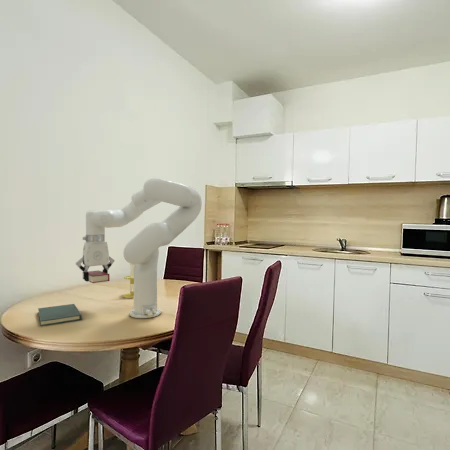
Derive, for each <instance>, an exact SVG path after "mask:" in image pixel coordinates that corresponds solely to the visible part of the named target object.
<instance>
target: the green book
mask: <svg viewBox="0 0 450 450" xmlns="http://www.w3.org/2000/svg"><path fill="white" fill-rule="evenodd" d="M37 310H38V312H37V314H38V318H39V323H40V327H43V326H44V327H45V326H50V325H52V326H53V325H57V324H63V323H70V322H77V321H82V313H81V312H80V310H79V309H78V307H77V306H76V304H75V303H70V304H62V305H61V304H60V305H54V306H53V305H52V306H45V307H38V308H37Z"/></svg>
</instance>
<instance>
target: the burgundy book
mask: <svg viewBox="0 0 450 450" xmlns="http://www.w3.org/2000/svg"><path fill="white" fill-rule="evenodd" d="M88 272H89V281H88V282H89V283H92V284H96V283H97V284H98V283H104V282H110V278H111V277H110V273H109V272H108V273H105V272H103V270H102V271H101V270H98V269H97V270H90V271H89V270H88ZM82 280H84V278H83V277H82Z"/></svg>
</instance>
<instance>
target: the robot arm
mask: <svg viewBox="0 0 450 450" xmlns="http://www.w3.org/2000/svg"><path fill="white" fill-rule="evenodd" d="M142 186H143V187H142V188H141V189H139V190H138V191H136V192H135V193H132V195H131V198H130V199H131V201H130V202H129V203H128V204H126V205H125V206H123V207H122V208H119V209H104V210H88V211H86V213H85V236H82V241H85V242H83V243H84V244H83V249H82V257H81V258H80V259H79V260H77V261H76V262H75V265H76V266H77V268H79V270H81V271H82V279H83V278H84V279H83V280H84V282H87V283H88V282H89V272H88V271H89V269H90V267H95V266H102V268H103V269H102V272H105V273H108V274H109V270H110V268H111V267H112V265H113V264H114V263H115V259H114V258H112V257H111V256H110V253H109V246H108V242H107V241H106V234H105V233H106V229H105V228H107V229H108V228H121V227H124V226H127V225H128V224H130V223H131V222H134V221H135V220H137V219H138V218H139V217H140V216H141V215H143V213H145V212H146V211H149V210H150V209H151V208H153V207H155V206H157V205H158V204H160V203H162V202H163V203H166V204H170V205H174V206H176V207H178V208H177V209H175V210H174V211H173V212H171V213H170V214H169V216H167V217H166V218H165V219H164V220H162V221H160V222H153V223H150V224H148V225H146V226H145V227H144V228H143V229H142V230H140V231H139V232H138V233H137V234H136V235H135V236H134V237H132V239H130V240H129V241H128V242H127V243H126V245H125V246H124V248H123V258H124V260H125V261H126V262H127V263H128V264H129V265H130V264H134V265H135V266H134V298H133V309H132V310H130V312H129V316H130V317H132V318H134V319H149V318H154V317H158V316H159V315H161V314H162V310H161V309H160V308H158V262H159V254H160V250H159V249H160V248H161V247H164V246H165V247H166V246H168V245H170V244H171V243H172V242H174V240H175V239H176V238H177V237H178V236H179V235H180V234H182V233H183V232H184V231H185V230H186V229H187V228H188V227H189V226H190V225H192V224H193V222H195V221H196V219H197V218H198V217H199V215H200V213H201V210H202V207H203V206H202V196H201V194H200V193H199V191H198V190H197V189H196V188H194V187H193V186H191V185H186V184H183V183H180V182H175V181H171V180H167V179H164V178H160V177H157V176H152V177H149V178H148V179H147V180H146V181H144V184H143V185H142ZM83 265H84V266H83Z"/></svg>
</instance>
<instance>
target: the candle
mask: <svg viewBox="0 0 450 450" xmlns="http://www.w3.org/2000/svg"><path fill="white" fill-rule="evenodd" d="M129 265H130V267H129V269H130V271H129V272H130V273H129V274H130V275H125V276H124V277H123V278H124V279H125V280H129V293H125V294H123V295H122V298H125V299H134V266H135V265H134V264H130V263H129Z"/></svg>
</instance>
